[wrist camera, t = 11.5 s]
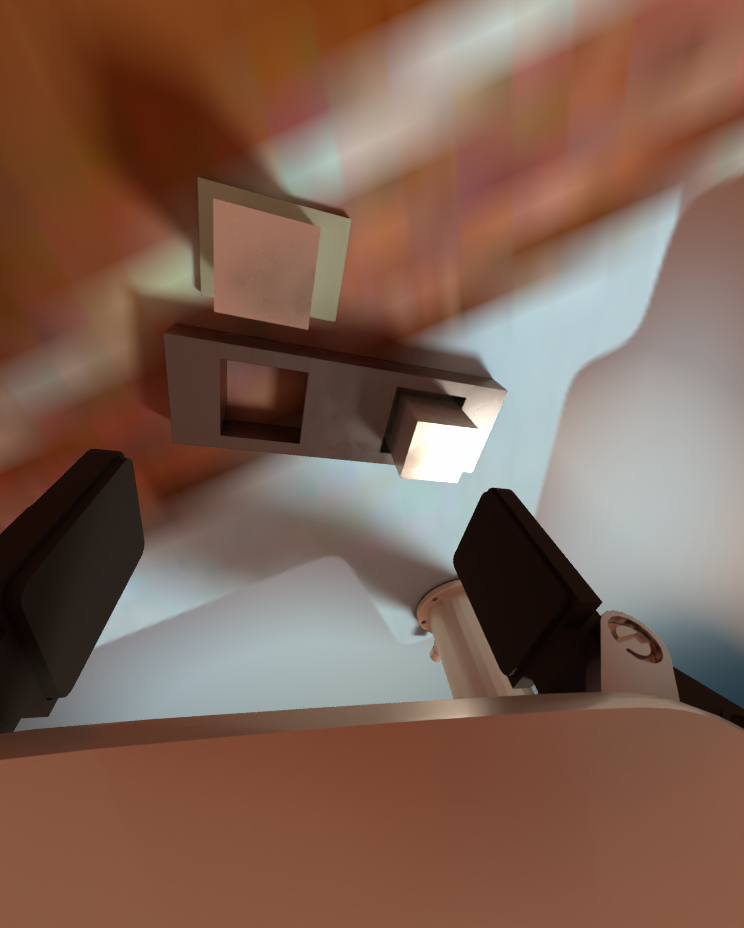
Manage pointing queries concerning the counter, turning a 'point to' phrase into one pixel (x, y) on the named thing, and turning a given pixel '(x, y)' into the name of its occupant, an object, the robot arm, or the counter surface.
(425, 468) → the brown wooden block
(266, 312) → the pale pink rectangular block
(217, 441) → the board with square holes
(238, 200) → the mat
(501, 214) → the counter surface
